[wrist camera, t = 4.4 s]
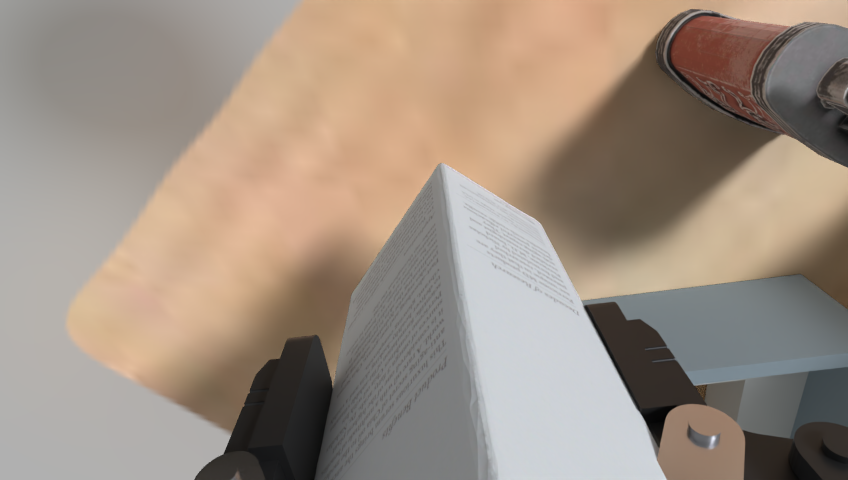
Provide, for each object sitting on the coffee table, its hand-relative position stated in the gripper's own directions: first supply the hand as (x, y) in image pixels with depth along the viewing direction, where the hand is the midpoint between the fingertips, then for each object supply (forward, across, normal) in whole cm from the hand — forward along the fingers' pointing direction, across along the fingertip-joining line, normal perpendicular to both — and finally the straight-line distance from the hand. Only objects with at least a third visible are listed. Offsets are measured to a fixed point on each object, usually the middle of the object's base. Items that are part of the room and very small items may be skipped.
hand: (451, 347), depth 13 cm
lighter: (+12, -14, -3) cm, 19 cm away
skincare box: (+5, 0, 0) cm, 5 cm away
